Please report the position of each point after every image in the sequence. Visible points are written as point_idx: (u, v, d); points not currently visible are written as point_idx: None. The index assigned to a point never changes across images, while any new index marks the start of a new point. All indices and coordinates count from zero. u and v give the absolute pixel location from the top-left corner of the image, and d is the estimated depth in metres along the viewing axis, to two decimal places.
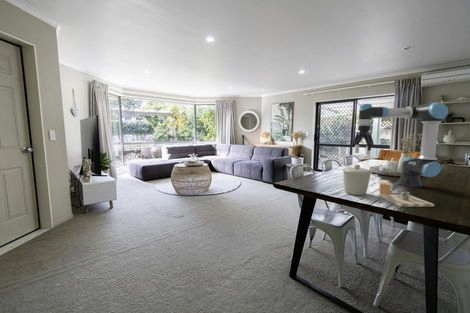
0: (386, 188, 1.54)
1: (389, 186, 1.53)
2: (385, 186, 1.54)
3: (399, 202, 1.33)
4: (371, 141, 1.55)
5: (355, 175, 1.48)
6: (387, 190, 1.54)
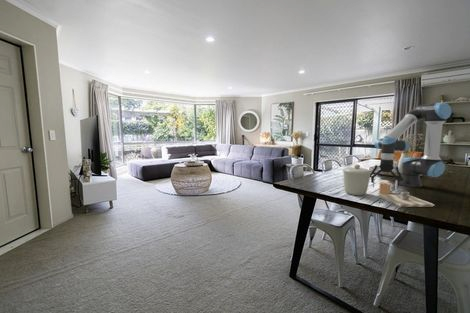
0: (386, 188, 1.54)
1: (389, 186, 1.53)
2: (385, 186, 1.54)
3: (399, 202, 1.33)
4: (401, 176, 1.53)
5: (355, 175, 1.48)
6: (387, 190, 1.54)
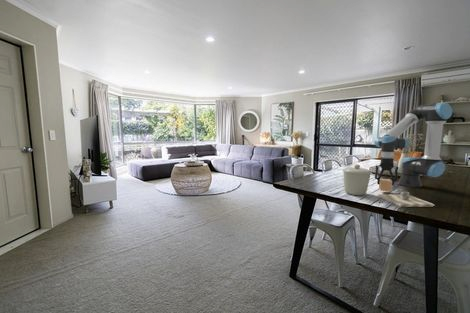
0: (387, 184, 1.54)
1: (390, 183, 1.53)
2: (386, 183, 1.54)
3: (399, 202, 1.33)
4: None
5: (355, 175, 1.48)
6: (388, 186, 1.54)
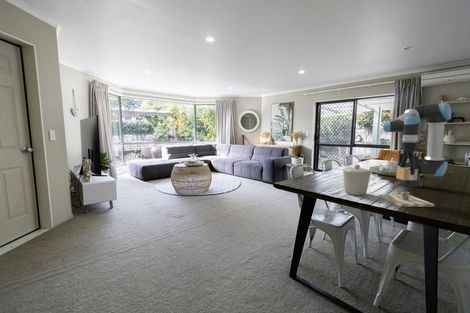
0: (401, 172, 1.37)
1: (403, 170, 1.35)
2: (400, 170, 1.38)
3: (399, 202, 1.33)
4: (416, 164, 1.31)
5: (355, 175, 1.48)
6: (401, 174, 1.36)
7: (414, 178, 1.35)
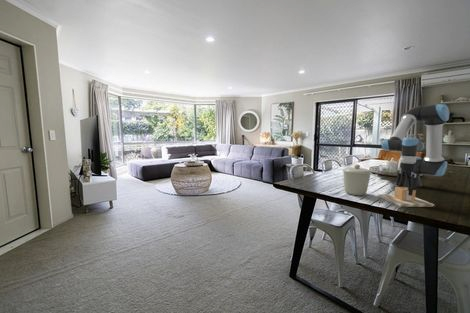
0: (399, 192, 1.39)
1: (401, 190, 1.37)
2: (398, 190, 1.39)
3: (399, 202, 1.33)
4: (414, 186, 1.32)
5: (355, 175, 1.48)
6: (399, 194, 1.38)
7: (412, 198, 1.37)
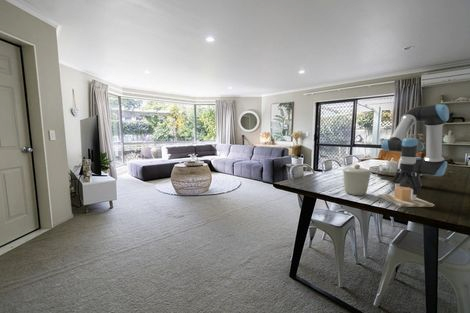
0: (399, 192, 1.39)
1: (401, 190, 1.37)
2: (398, 190, 1.39)
3: (399, 202, 1.33)
4: (418, 184, 1.29)
5: (355, 175, 1.48)
6: (399, 194, 1.38)
7: None
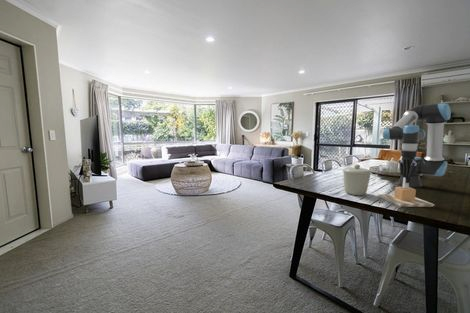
0: (399, 192, 1.39)
1: (401, 190, 1.37)
2: (398, 190, 1.39)
3: (399, 202, 1.33)
4: (412, 174, 1.34)
5: (355, 175, 1.48)
6: (399, 194, 1.38)
7: (412, 198, 1.37)
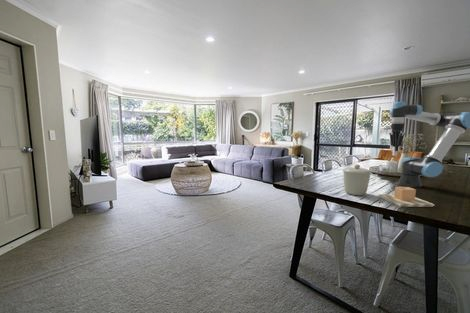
0: (399, 192, 1.39)
1: (401, 190, 1.37)
2: (398, 190, 1.39)
3: (399, 202, 1.33)
4: (400, 142, 1.58)
5: (355, 175, 1.48)
6: (399, 194, 1.38)
7: (412, 198, 1.37)
